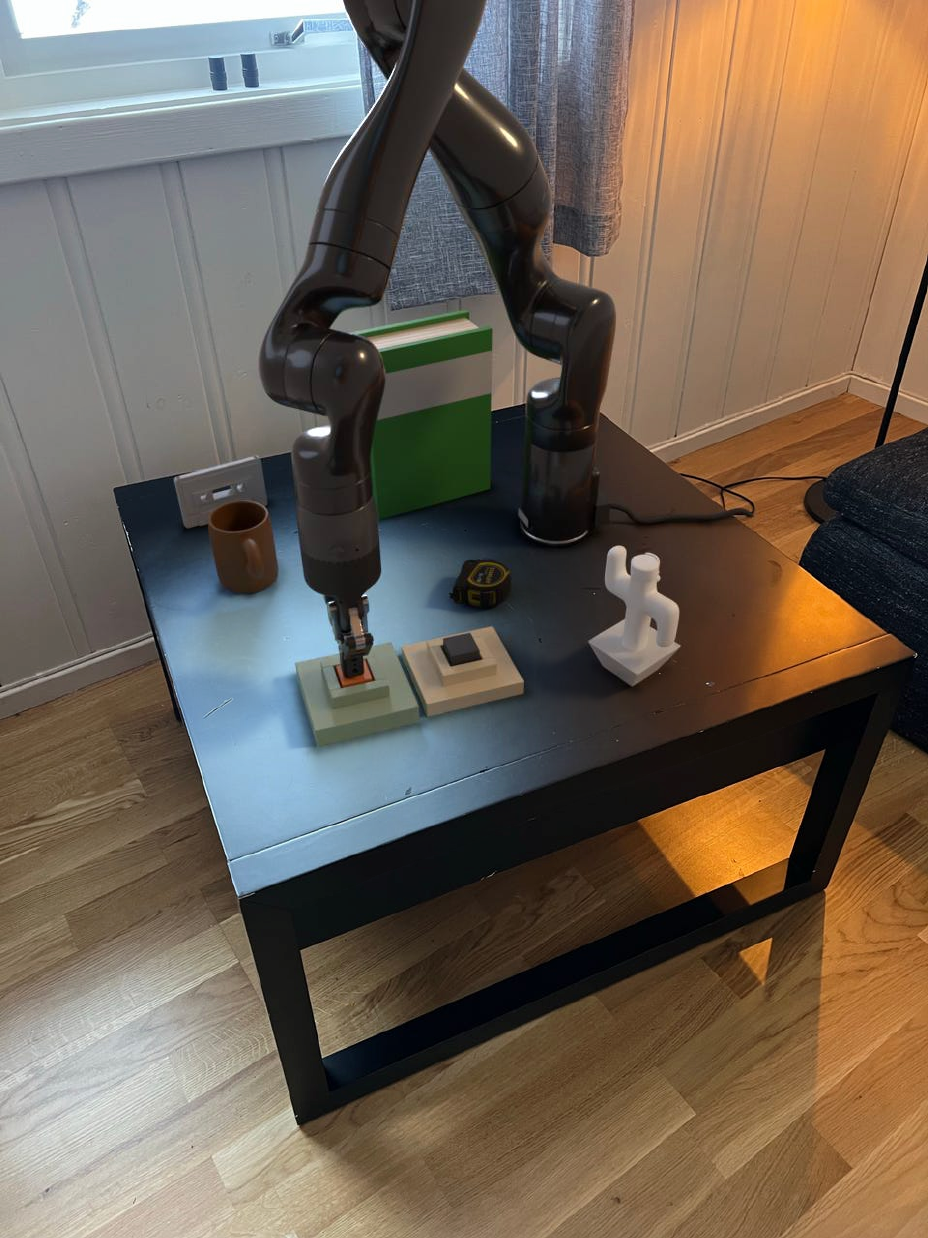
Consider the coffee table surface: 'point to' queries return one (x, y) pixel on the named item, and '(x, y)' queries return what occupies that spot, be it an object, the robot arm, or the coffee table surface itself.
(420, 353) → the hardback book
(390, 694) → the green stepped square block
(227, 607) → the coffee table surface
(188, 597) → the coffee table surface
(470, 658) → the key
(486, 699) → the beige push button
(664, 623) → the figurine
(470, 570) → the tape measure
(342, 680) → the key
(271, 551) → the mug
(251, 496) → the cassette
